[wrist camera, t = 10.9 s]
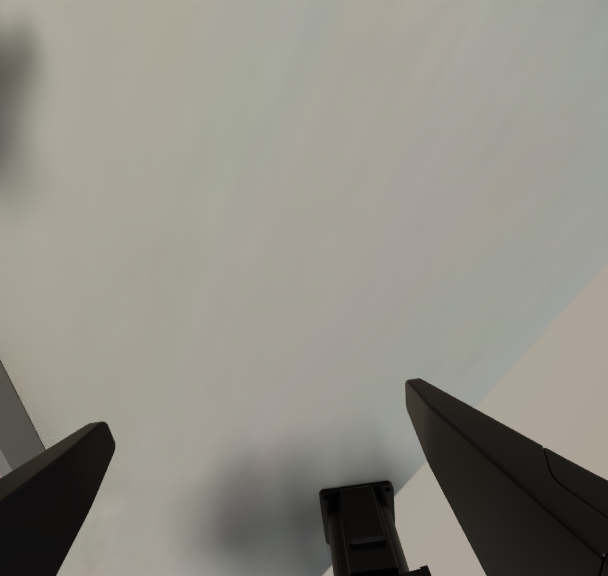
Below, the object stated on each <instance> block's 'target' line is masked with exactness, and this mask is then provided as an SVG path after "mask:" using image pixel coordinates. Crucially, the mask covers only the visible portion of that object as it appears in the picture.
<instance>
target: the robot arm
mask: <svg viewBox="0 0 608 576" xmlns="http://www.w3.org/2000/svg"><path fill="white" fill-rule="evenodd" d="M405 393H406V407H407V411H408V414H409V416H410V419H411V421H412V424H413V426H414V429H415V431H416V434H417V436H418V439H419V441H420V444H421V447H422V449H423V452H424V454H425V456H426V459H427V461H428V463H429V465H430V467H431V469H432V471H433V473H434V475H435V477H436V479H437V481H438V483H439V485H440V487H441V489H442V491H443V493H444V495H445V497H446V498H447V500H448V502H449V504H450V506H451V508H452V510H453V512H454V514H455V516H456V518H457V520H458V522H459V523H460V525H461V527H462V529H463V531H464V533H465V535H466V537H467V539H468V541H469V542H470V544H471V547H472V548H473V550H474V552H475V554H476V556H477V558H478V560H479V562H480V564H481V566H482V568H483V570H484V571H485V573H486V575H487V576H608V480H606V479H604V478H602V477H600V476H597V475H596V474H594V473H592V472H590V471H588V470H586V469H584V468H582V467H581V466H579V465H577V464H575V463H573V462H571V461H569V460H567V459H565V458H564V457H562V456H560V455H558V454H556V453H555V452H553V451H551V450H549V449H547V448H543V446H542V445H540V444H538V443H536V442H534V441H533V440H530V439H529V438H527V437H525V436H524V435H522V434H520V433H518V432H516V431H515V430H513V429H511V428H509V427H507V426H505V425H504V424H502V423H500V422H498V421H496V420H494V419H493V418H491V417H489V416H487V415H485V414H484V413H482V412H480V411H478V410H477V409H475V408H473V407H471V406H469V405H467V404H466V403H464V402H462V401H460V400H458V399H457V398H455V397H453V396H451V395H449V394H448V393H446V392H444V391H442V390H440V389H438V388H437V387H435V386H433V385H431V384H429V383H428V382H426V381H424V380H422V379H420V378H417V379H410V380H407V381H406V383H405ZM114 451H115V441H114V439H113V436H112V434H111V431H110V429H109V426H108V424H107V423H106V422H95V423H90V424H88V425H86V426H84V427H83V428H81V429H79V430H78V431H76V432H75V433H73V434H71V435H70V436H68V437H66V438H65V439H63V440H62V441H60V442H58V443H57V444H55V445H53V446H52V447H50V448H49V449H47V450H45V451H44V452H42V453H41V454H39V455H37V456H36V457H34V458H32V459H31V460H29V461H28V462H26V463H24V464H23V465H21V466H20V467H18V468H16V469H15V470H13V471H11V472H10V473H8V474H7V475H5V476H3V477H2V478H0V576H56V575H57V573H58V571H59V569H60V567H61V565H62V563H63V561H64V559H65V557H66V556H67V554H68V552H69V550H70V548H71V546H72V544H73V542H74V540H75V538H76V536H77V534H78V532H79V530H80V528H81V526H82V524H83V522H84V521H85V519H86V517H87V515H88V513H89V510H90V508H91V506H92V504H93V502H94V499H95V497H96V495H97V492H98V490H99V487H100V485H101V483H102V480H103V478H104V475H105V473H106V471H107V468H108V466H109V463H110V461H111V459H112V456H113V454H114ZM319 496H320V504H321V510H322V517H323V524H324V531H325V537H326V542H327V544H329V545H330V547H331V556H332V565H333V573H334V576H431V573H430V571H429V568H428V566H427V565H426V566H422V567H420V569H417V570H414V571H409V568H408V565H407V562H406V559H405V556H404V552H403V550H402V547H401V543H400V540H399V537H398V534H397V530H396V527H395V513H394V491H393V486H392V483H391V482H390V481H382V482H375V483H367V484H360V485H353V486H345V487H338V488H331V489H324V490H321V491H320V493H319Z"/></svg>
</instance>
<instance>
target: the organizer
mask: <svg viewBox="0 0 608 576" xmlns="http://www.w3.org/2000/svg"><path fill="white" fill-rule="evenodd" d="M44 451H45V449H44V447H43V445H42V443H41V441H40V439H39V437H38V435H37V433H36V431H35V429H34V427H33V425H32V423H31V421H30V419H29V417H28V415H27V413H26V411H25V409H24V407H23V405H22V403H21V401H20V399H19V397H18V395H17V393H16V391H15V389H14V387H13V385H12V383H11V381H10V379H9V378H8V376H7V374H6V372H5V370H4V368H3V366H2V364H1V362H0V478H2V477H3V476H5V475H7V474H8V473H10V472H11V471H13V470H15V469H16V468H18V467H20V466H21V465H23V464H24V463H26V462H28V461H29V460H31V459H32V458H34V457H36V456H37V455H39V454H41V453H42V452H44Z"/></svg>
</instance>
